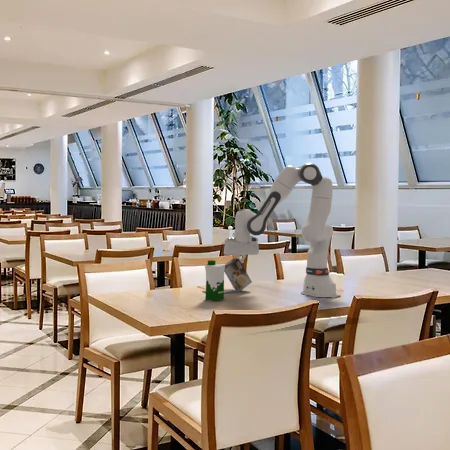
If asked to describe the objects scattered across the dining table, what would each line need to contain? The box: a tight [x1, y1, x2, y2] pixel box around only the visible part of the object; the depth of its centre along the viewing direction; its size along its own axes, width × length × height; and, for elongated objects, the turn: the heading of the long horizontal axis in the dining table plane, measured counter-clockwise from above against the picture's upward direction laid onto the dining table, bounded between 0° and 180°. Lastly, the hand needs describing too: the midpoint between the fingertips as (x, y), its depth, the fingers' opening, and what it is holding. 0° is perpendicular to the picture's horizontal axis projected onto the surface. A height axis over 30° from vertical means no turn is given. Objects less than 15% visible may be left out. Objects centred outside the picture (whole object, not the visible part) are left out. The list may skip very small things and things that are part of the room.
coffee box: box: [224, 257, 253, 292], centre depth 324 cm, size 9×6×16 cm
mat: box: [201, 288, 240, 295], centre depth 321 cm, size 10×18×1 cm, turn 113°
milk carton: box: [204, 259, 225, 302], centre depth 298 cm, size 9×9×20 cm
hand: (240, 262), depth 325 cm, fingers closed
